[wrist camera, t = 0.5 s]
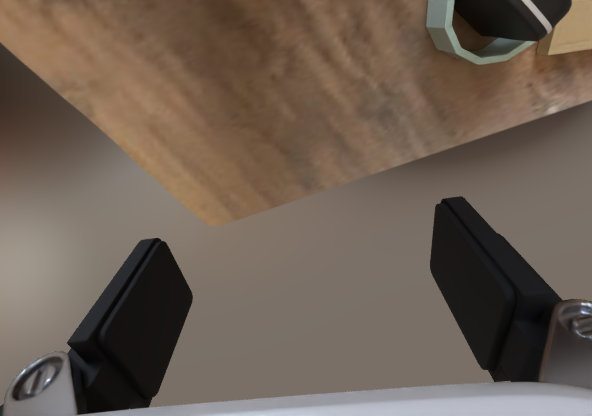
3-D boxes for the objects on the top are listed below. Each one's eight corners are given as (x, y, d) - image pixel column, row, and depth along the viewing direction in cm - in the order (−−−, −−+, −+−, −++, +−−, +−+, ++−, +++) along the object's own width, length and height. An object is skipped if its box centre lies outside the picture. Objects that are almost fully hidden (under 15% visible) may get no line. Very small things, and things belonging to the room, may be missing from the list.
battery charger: (509, 7, 35) (590, 3, 25) (482, 38, 37) (548, 45, 27) (471, -36, 33) (543, -58, 23) (444, -1, 35) (500, -8, 25)
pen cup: (431, -51, 32) (454, -62, 28) (543, -72, 31) (586, -87, 27) (423, 64, 38) (440, 71, 34) (516, 50, 37) (547, 54, 33)
